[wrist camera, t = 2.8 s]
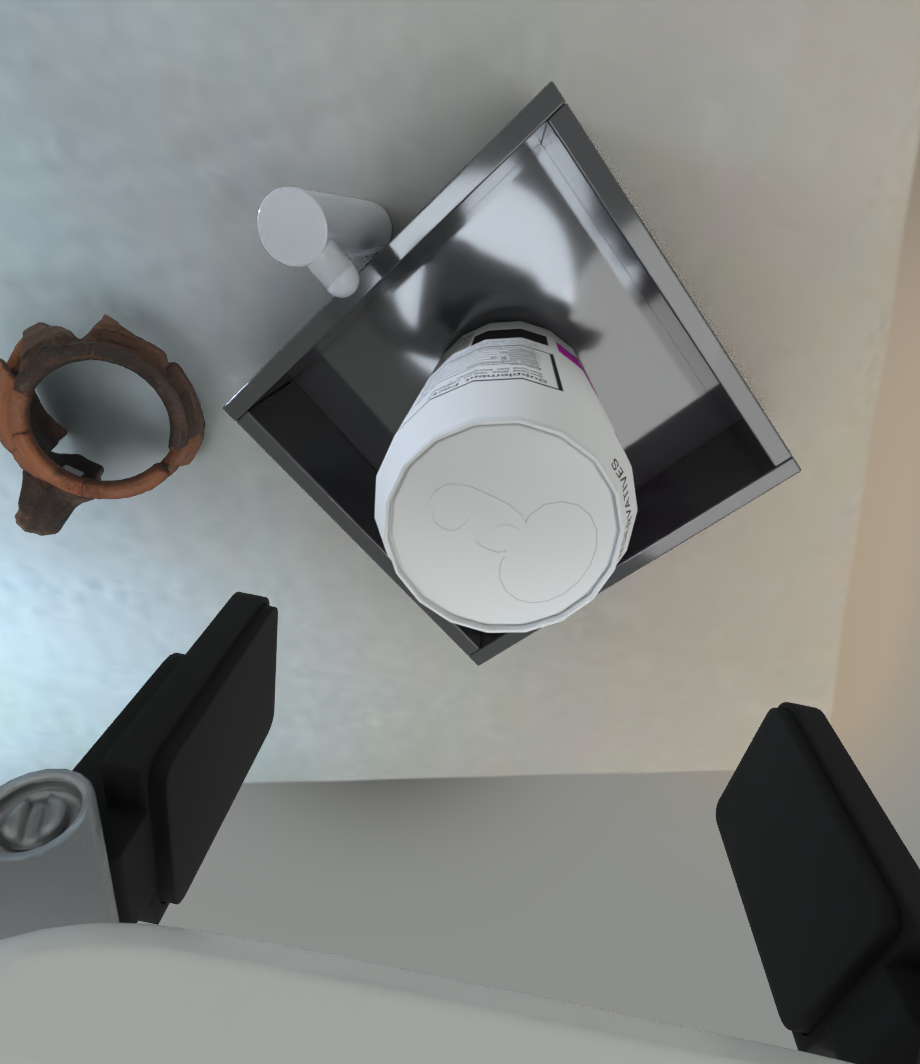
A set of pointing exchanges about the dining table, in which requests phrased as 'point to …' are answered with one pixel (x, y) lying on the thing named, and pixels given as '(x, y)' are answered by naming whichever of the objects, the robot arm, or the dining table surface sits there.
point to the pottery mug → (31, 433)
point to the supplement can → (506, 484)
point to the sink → (505, 296)
